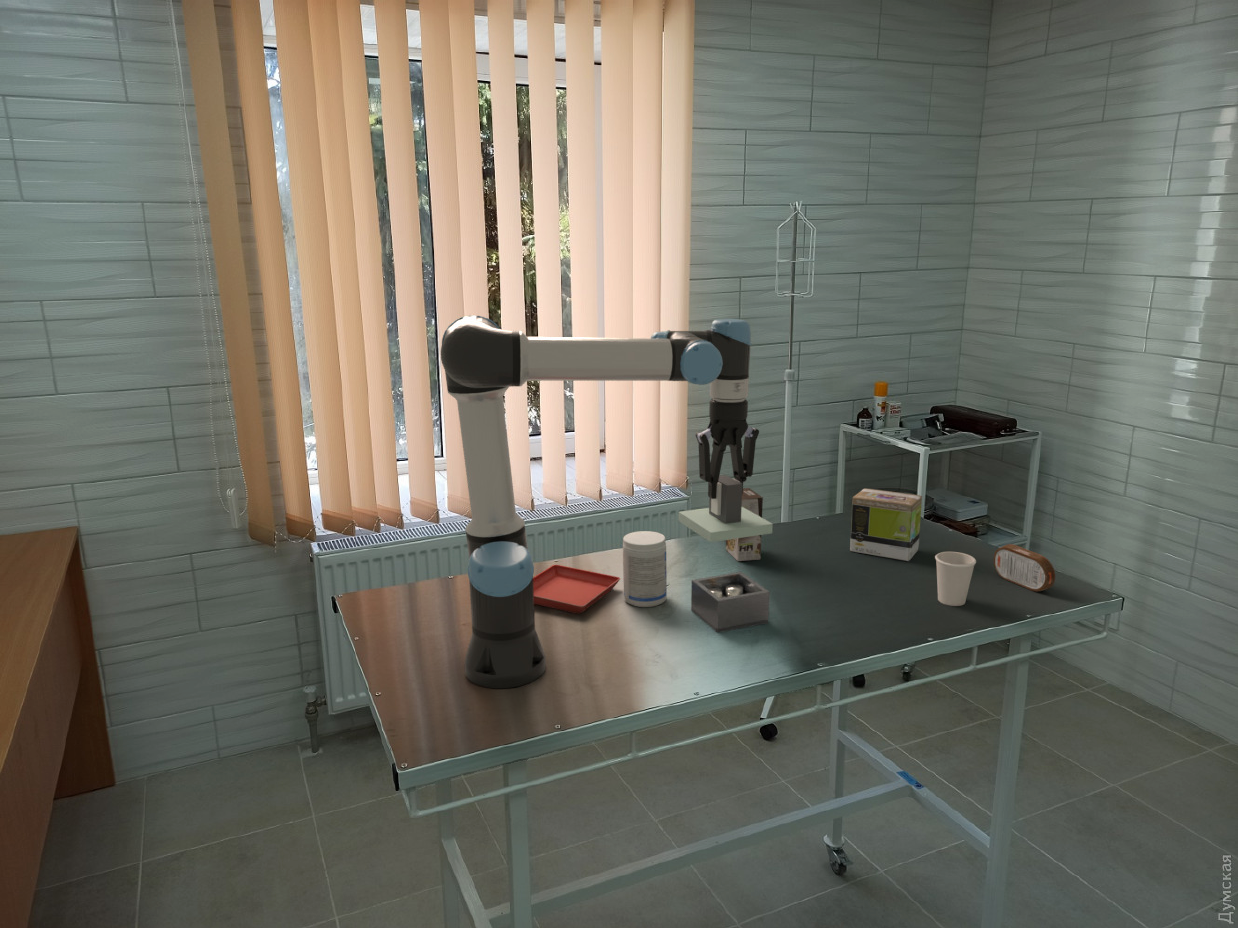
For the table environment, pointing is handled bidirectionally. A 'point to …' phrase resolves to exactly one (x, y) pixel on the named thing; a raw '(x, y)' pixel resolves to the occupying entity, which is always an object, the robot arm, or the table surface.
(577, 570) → the plant saucer
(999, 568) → the tin
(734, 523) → the lid
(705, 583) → the instrument box
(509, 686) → the robot arm
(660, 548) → the supplement tub
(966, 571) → the dixie cup
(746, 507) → the coffee box
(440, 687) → the table surface
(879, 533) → the tea box
